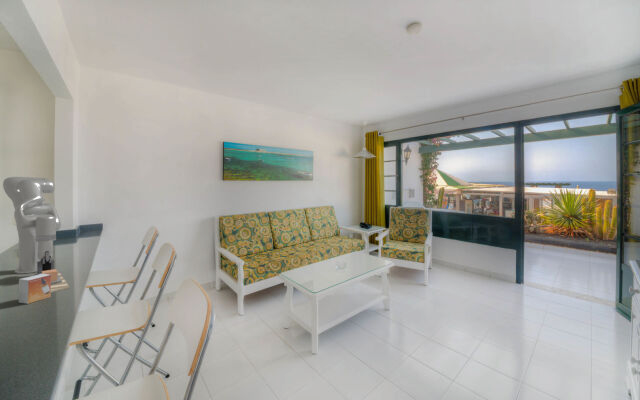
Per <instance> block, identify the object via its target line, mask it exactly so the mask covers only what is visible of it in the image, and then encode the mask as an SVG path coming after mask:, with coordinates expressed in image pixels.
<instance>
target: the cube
mask: <svg viewBox="0 0 640 400" xmlns="http://www.w3.org/2000/svg"><path fill="white" fill-rule="evenodd" d="M57 272H58V269H56V268H54V269H53V270H47V271H42V274H49V275H51V282H53V281H57Z"/></svg>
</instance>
